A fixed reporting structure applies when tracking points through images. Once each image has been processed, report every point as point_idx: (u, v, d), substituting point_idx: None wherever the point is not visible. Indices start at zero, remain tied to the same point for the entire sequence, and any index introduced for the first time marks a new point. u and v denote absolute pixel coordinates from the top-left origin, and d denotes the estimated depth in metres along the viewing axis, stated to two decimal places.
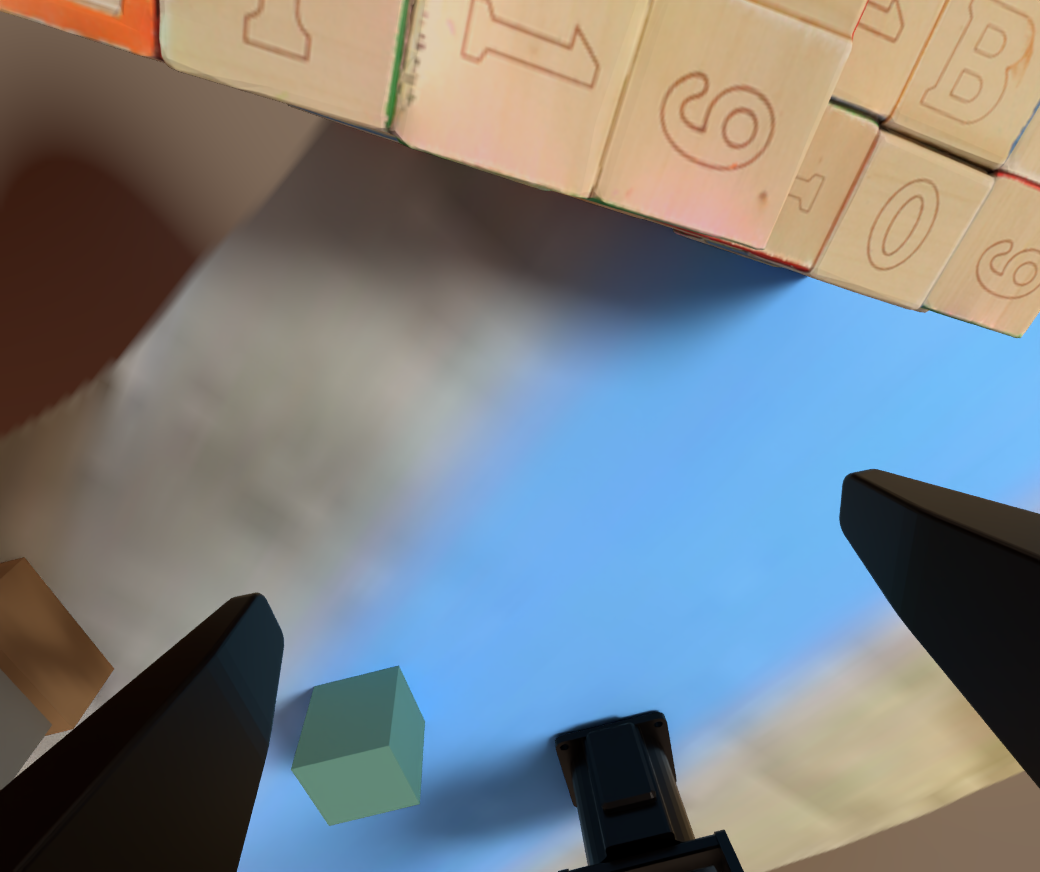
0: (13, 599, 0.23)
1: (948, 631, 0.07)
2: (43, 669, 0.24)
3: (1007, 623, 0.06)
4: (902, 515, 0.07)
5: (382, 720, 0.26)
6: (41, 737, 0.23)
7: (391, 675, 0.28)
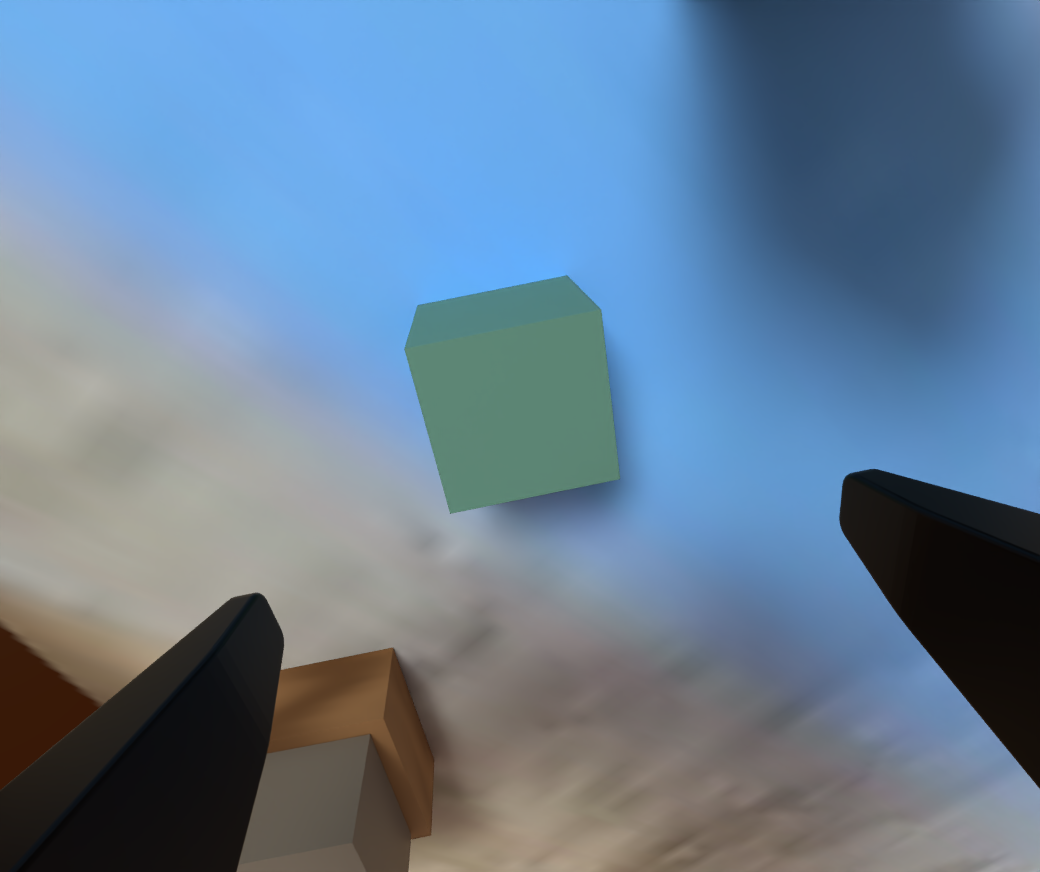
0: None
1: (948, 631, 0.07)
2: (304, 716, 0.20)
3: (1007, 623, 0.06)
4: (902, 515, 0.07)
5: None
6: (364, 751, 0.19)
7: None
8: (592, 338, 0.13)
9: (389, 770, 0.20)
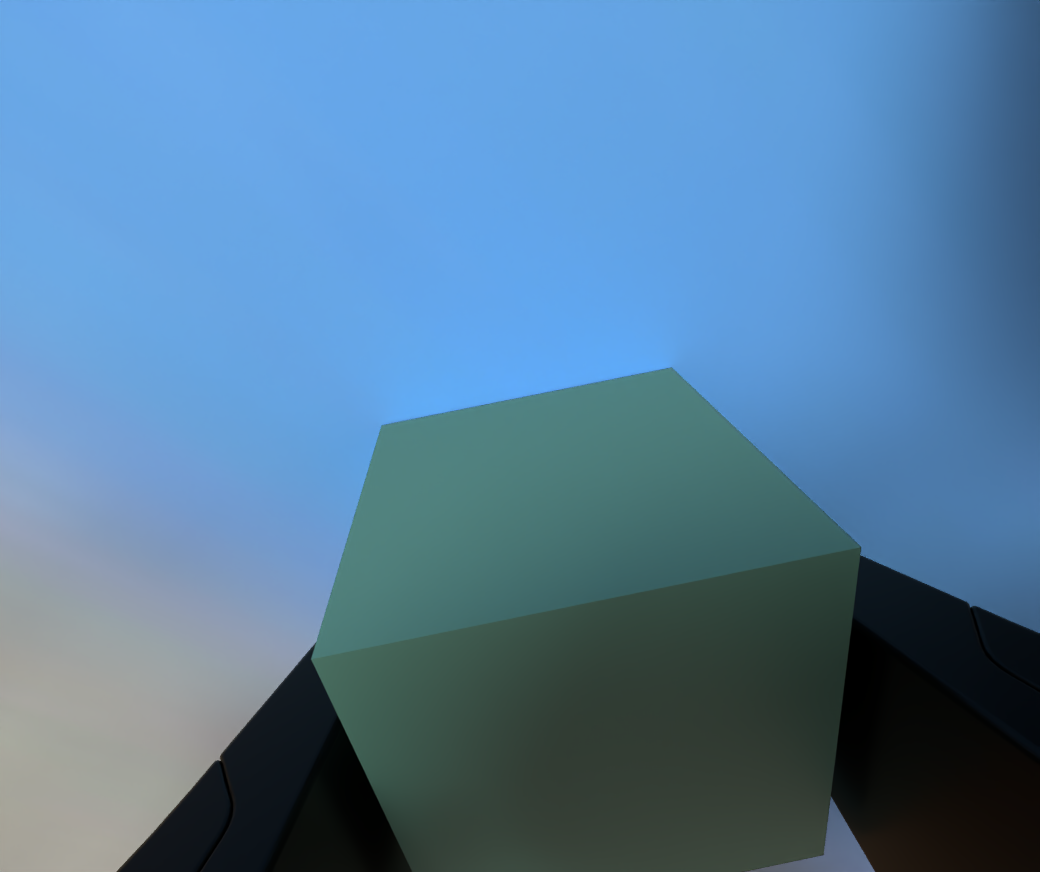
0: None
1: None
2: None
3: None
4: None
5: None
6: None
7: None
8: (823, 611, 0.05)
9: None
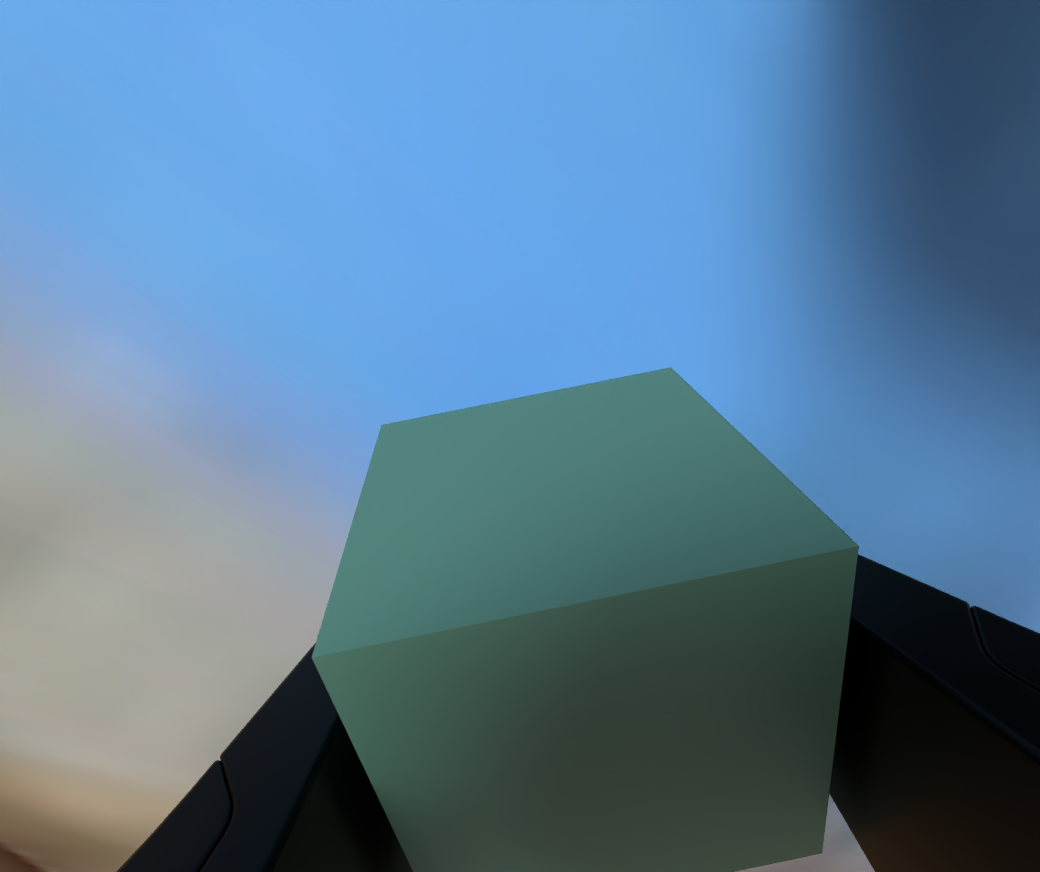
0: None
1: None
2: None
3: None
4: None
5: None
6: None
7: None
8: (821, 610, 0.05)
9: None
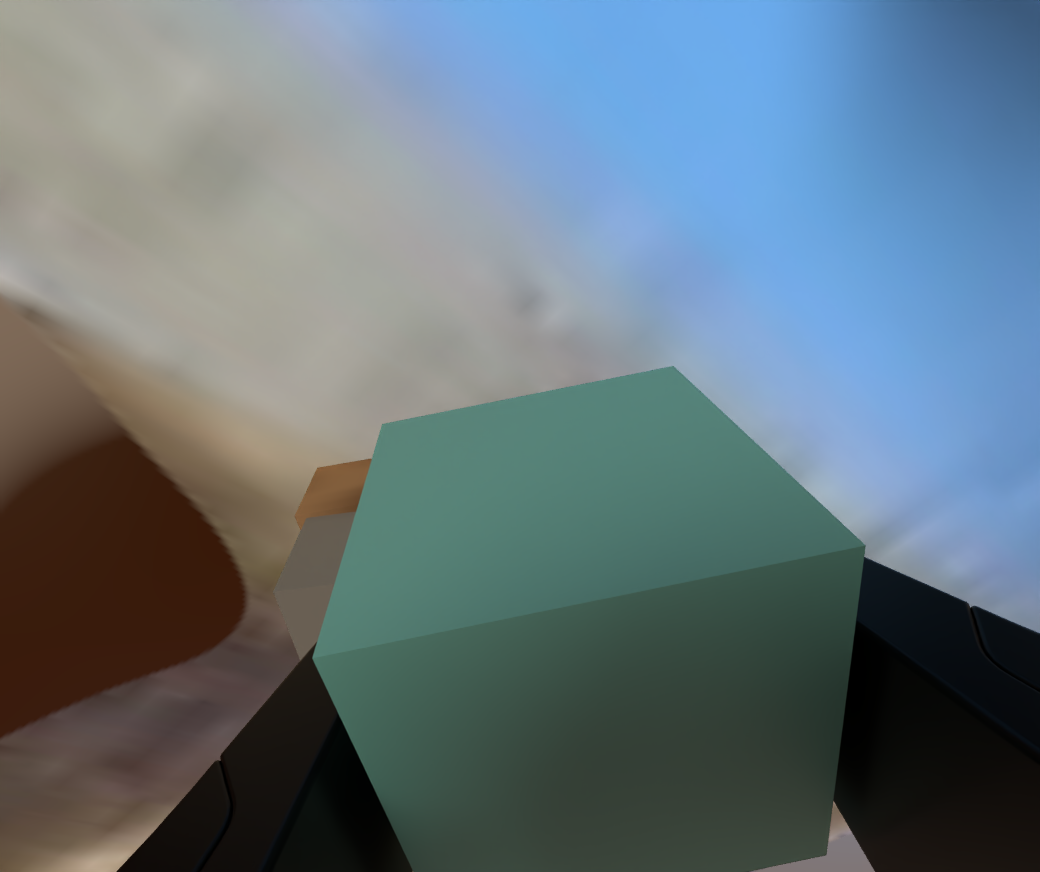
0: (334, 484, 0.20)
1: None
2: None
3: None
4: None
5: None
6: None
7: None
8: (827, 610, 0.05)
9: None
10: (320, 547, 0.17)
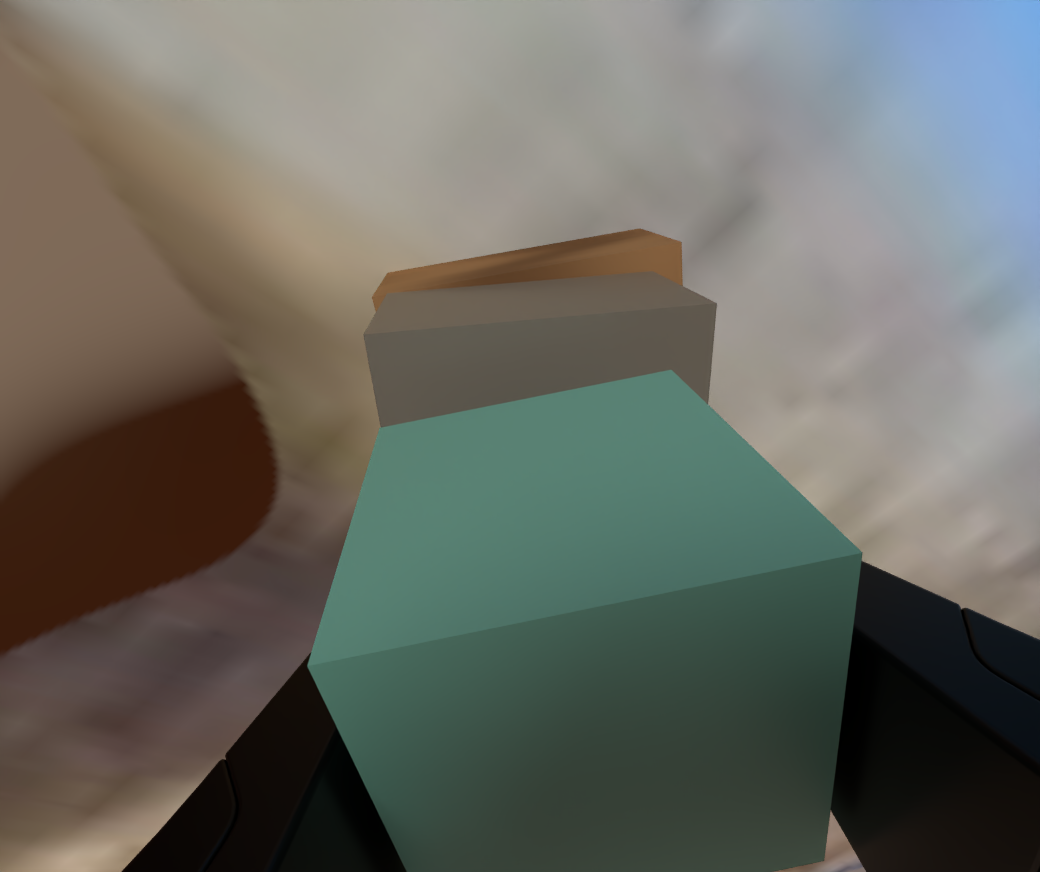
0: (420, 276, 0.14)
1: None
2: (548, 260, 0.13)
3: None
4: None
5: None
6: (658, 275, 0.12)
7: None
8: (824, 617, 0.05)
9: None
10: (422, 306, 0.11)
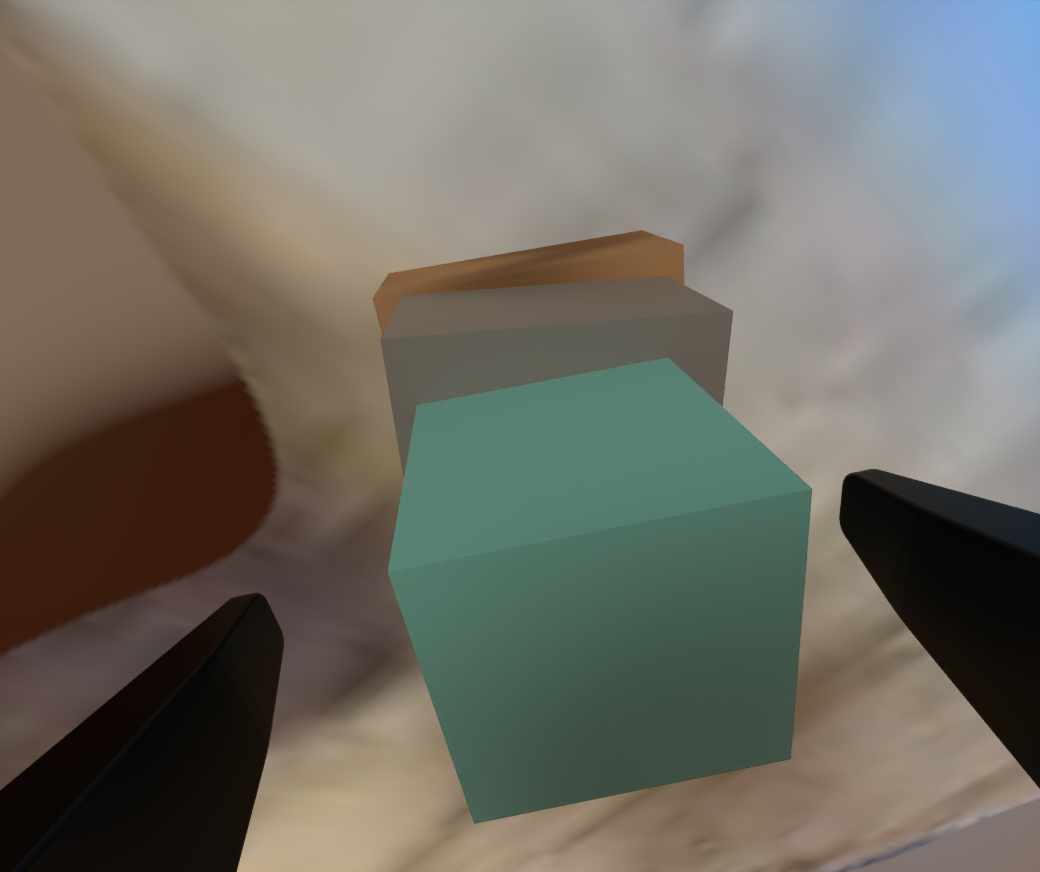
0: (421, 277, 0.14)
1: (948, 631, 0.07)
2: (549, 261, 0.13)
3: (1007, 623, 0.06)
4: (902, 515, 0.07)
5: None
6: (672, 280, 0.12)
7: None
8: (784, 541, 0.06)
9: None
10: (436, 310, 0.11)
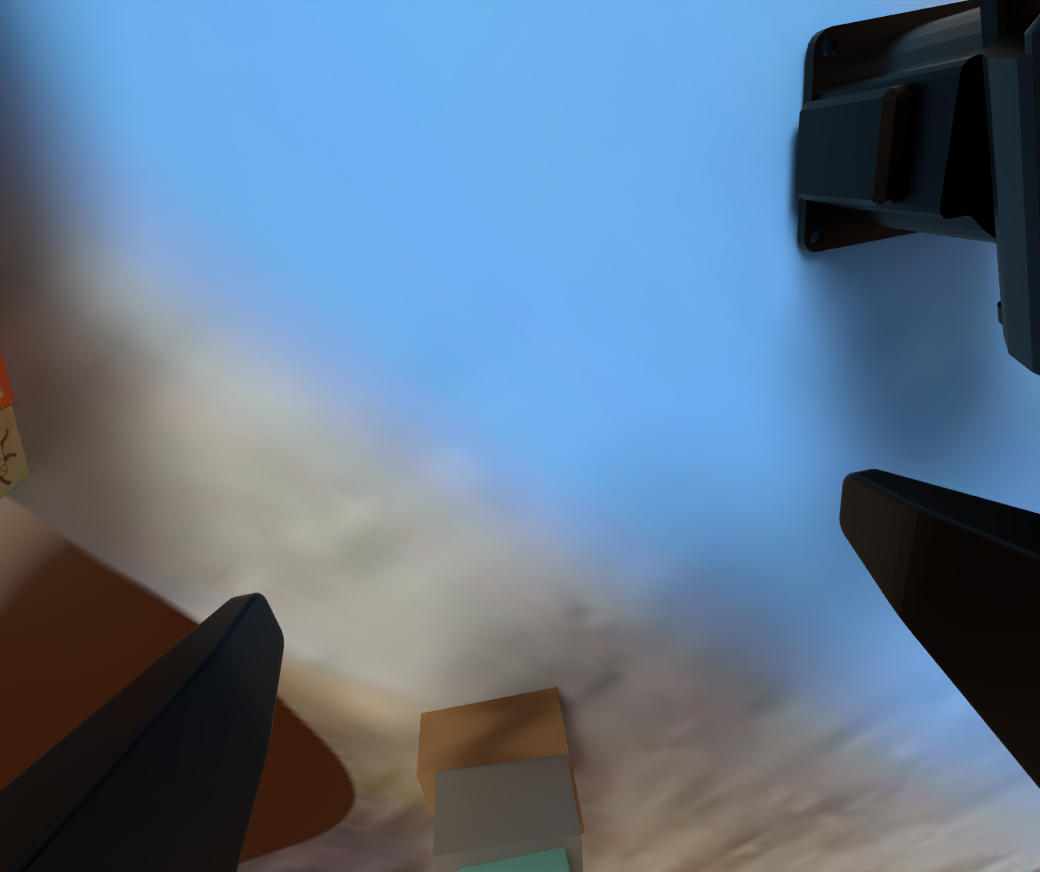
0: (439, 737, 0.27)
1: (948, 631, 0.07)
2: (503, 743, 0.26)
3: (1007, 623, 0.06)
4: (902, 515, 0.07)
5: None
6: (566, 766, 0.25)
7: None
8: None
9: None
10: (454, 807, 0.24)
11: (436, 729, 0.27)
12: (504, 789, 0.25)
